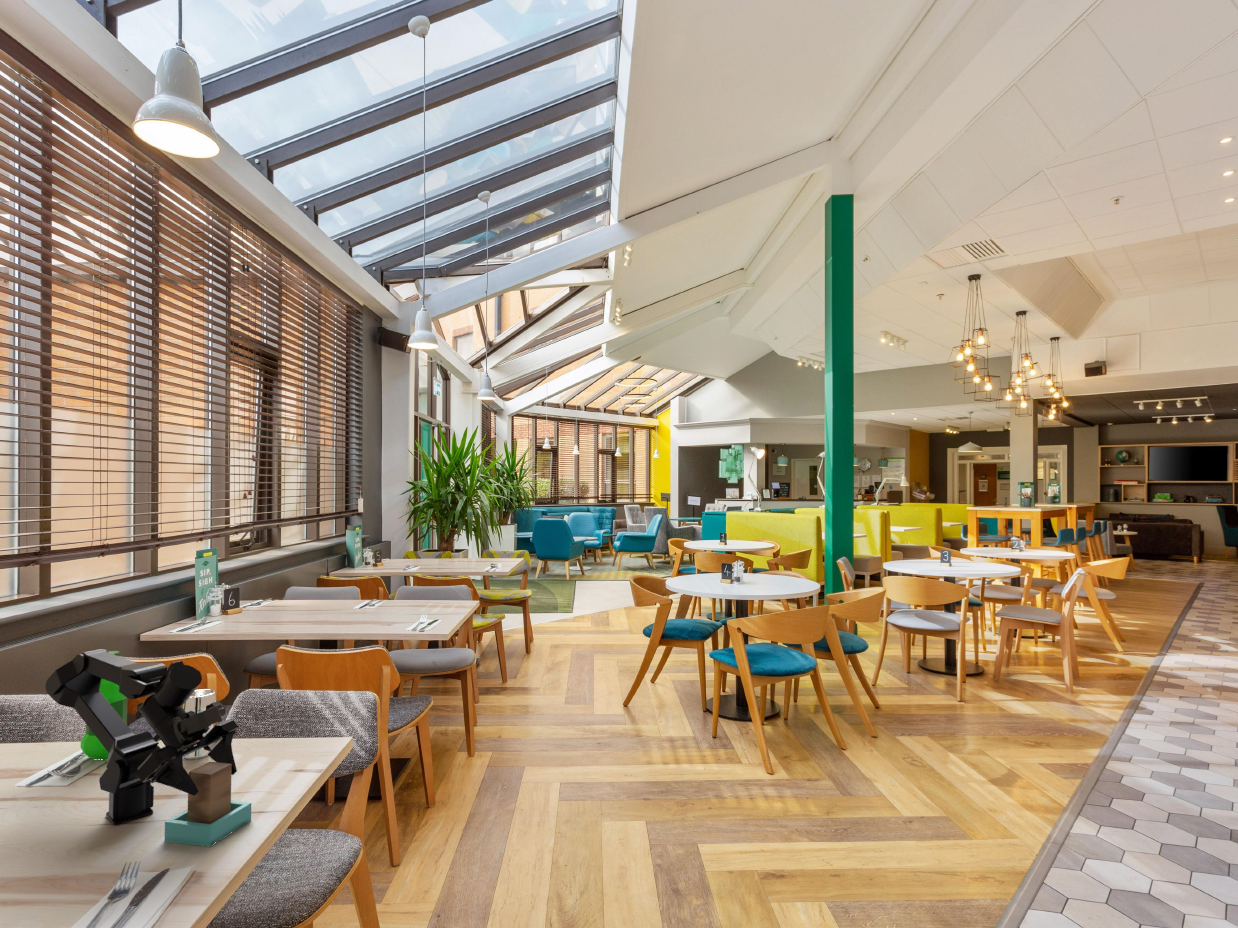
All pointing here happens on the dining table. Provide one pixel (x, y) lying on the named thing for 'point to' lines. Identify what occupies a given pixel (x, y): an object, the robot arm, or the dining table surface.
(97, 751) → the plastic bottle
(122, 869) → the dining table surface
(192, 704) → the beer glass
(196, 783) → the walnut post
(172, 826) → the teal tray
